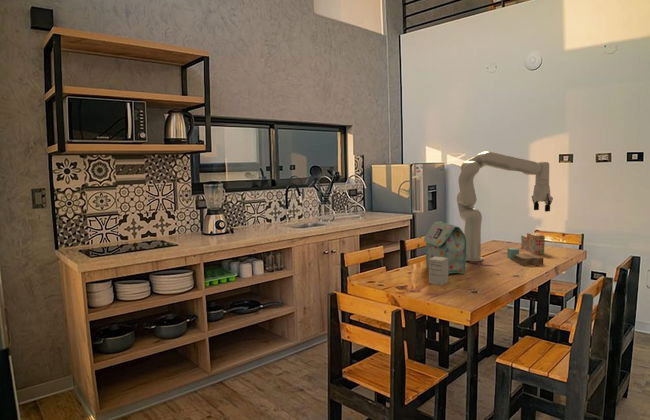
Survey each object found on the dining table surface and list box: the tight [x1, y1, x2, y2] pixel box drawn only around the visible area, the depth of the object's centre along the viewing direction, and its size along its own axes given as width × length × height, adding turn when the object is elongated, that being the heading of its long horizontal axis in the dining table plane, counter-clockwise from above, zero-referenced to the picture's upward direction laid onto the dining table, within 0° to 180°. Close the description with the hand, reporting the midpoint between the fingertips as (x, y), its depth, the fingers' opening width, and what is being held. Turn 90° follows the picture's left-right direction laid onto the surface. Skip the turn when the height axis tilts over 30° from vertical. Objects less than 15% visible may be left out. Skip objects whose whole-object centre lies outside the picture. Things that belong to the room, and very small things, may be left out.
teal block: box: [507, 247, 520, 260], centre depth 281 cm, size 5×5×6 cm
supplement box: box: [428, 257, 449, 286], centre depth 228 cm, size 7×7×13 cm
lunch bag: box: [423, 220, 467, 275], centre depth 253 cm, size 23×16×27 cm
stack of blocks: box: [520, 232, 546, 255], centre depth 300 cm, size 21×6×12 cm, turn 179°
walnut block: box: [513, 253, 544, 266], centre depth 267 cm, size 12×12×4 cm
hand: (541, 210), depth 278 cm, fingers open, 9 cm apart
